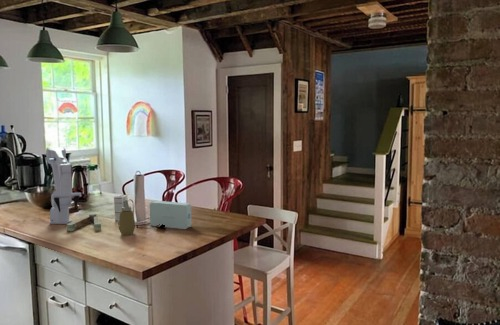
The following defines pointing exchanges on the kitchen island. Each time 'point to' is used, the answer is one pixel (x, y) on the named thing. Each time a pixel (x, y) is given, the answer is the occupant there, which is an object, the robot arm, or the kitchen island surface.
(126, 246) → the kitchen island surface
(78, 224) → the bar
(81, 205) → the kitchen island surface
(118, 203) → the syrup box
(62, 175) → the robot arm
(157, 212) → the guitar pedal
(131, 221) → the squeeze bottle
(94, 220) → the fixed tong arm
